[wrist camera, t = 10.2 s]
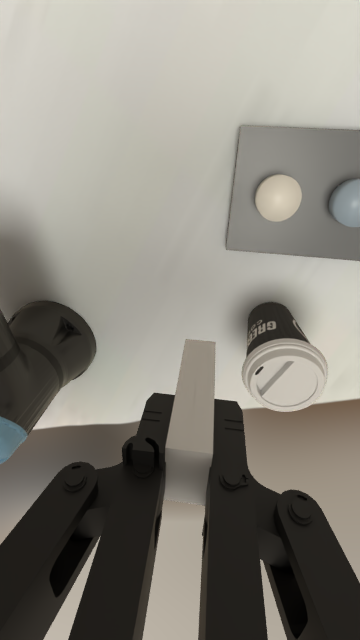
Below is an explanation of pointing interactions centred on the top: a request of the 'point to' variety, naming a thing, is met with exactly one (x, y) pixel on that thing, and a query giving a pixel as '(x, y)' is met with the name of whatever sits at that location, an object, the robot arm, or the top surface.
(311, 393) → the coffee cup
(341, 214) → the button blue
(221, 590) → the robot arm
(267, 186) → the button cream
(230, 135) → the top surface
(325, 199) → the panel
